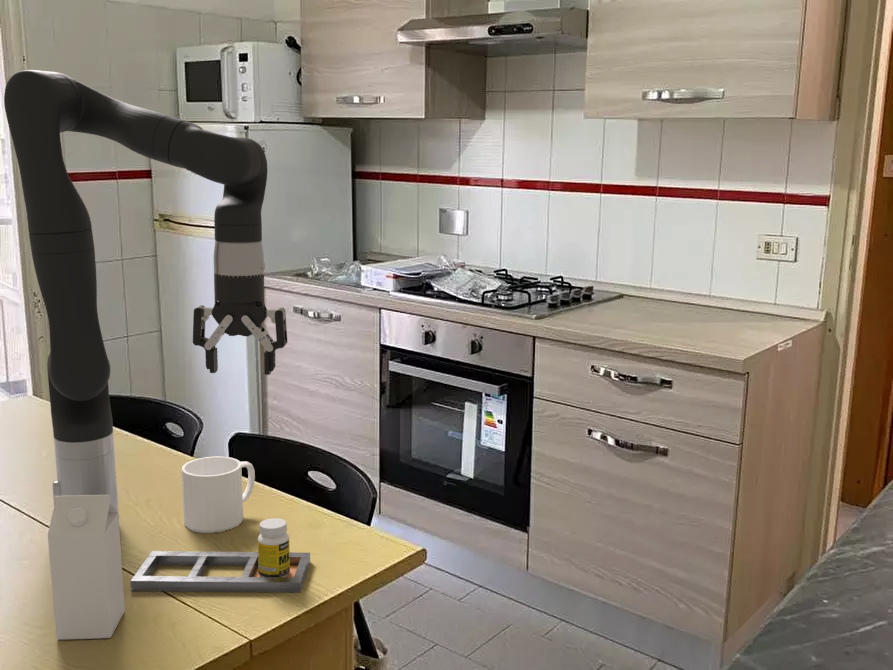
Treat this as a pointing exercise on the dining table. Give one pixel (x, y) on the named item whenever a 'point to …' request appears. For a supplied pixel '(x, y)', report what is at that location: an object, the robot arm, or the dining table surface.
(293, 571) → the marked hole pad
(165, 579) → the grey flat rectangular frame
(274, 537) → the supplement bottle
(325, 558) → the dining table surface
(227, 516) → the mug
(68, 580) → the milk carton
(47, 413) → the dining table surface
